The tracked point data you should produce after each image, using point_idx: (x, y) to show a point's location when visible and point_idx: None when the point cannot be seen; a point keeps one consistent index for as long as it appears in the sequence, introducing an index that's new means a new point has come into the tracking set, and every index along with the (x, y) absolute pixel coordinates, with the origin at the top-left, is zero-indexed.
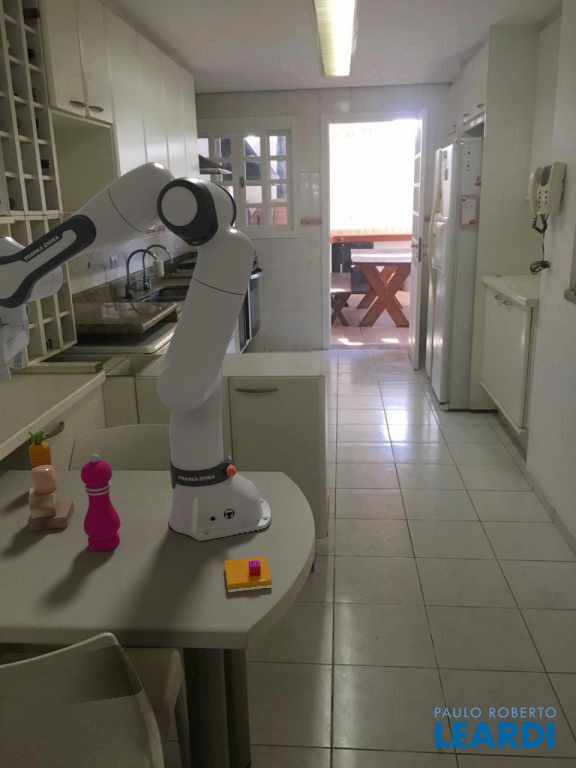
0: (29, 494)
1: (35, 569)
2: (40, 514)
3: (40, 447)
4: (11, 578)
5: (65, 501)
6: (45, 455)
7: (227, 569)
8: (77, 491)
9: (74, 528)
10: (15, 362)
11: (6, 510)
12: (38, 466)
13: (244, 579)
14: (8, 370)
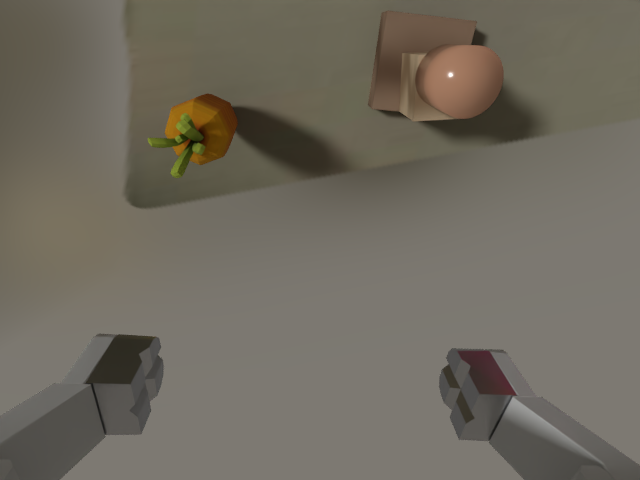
0: (451, 118)
1: (609, 74)
2: None
3: (219, 125)
4: (613, 115)
5: (387, 32)
6: (224, 108)
7: None
8: (273, 13)
9: (480, 2)
10: (140, 418)
11: (335, 174)
12: (440, 100)
13: None
14: (563, 417)
